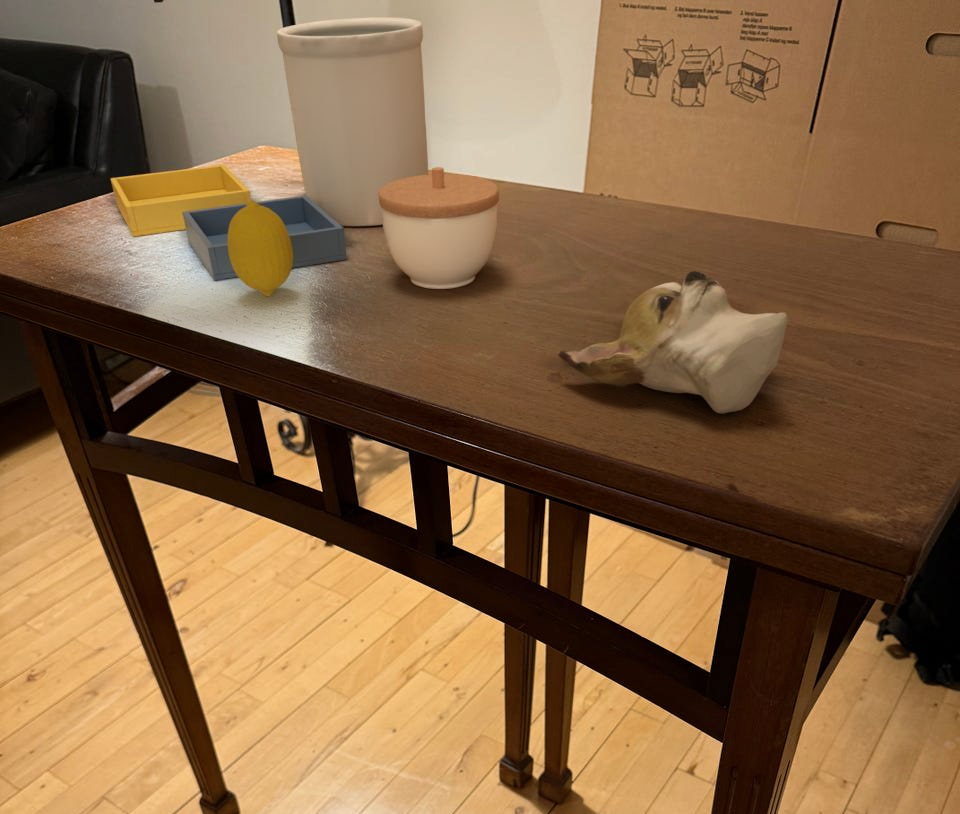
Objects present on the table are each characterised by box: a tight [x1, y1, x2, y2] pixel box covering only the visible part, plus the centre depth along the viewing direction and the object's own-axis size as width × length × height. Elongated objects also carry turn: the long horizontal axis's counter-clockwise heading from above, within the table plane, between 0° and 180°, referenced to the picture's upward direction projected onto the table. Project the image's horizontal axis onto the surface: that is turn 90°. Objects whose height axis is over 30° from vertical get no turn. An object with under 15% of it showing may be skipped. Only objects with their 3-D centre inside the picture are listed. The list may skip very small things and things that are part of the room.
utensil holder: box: [276, 17, 429, 227], centre depth 98 cm, size 15×15×18 cm
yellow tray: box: [110, 164, 252, 237], centre depth 103 cm, size 13×13×3 cm
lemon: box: [228, 200, 293, 297], centre depth 80 cm, size 6×6×8 cm
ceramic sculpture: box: [557, 270, 789, 415], centre depth 64 cm, size 11×9×15 cm
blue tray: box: [182, 194, 348, 281], centre depth 92 cm, size 13×13×3 cm
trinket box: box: [378, 166, 500, 290], centre depth 82 cm, size 11×11×9 cm
